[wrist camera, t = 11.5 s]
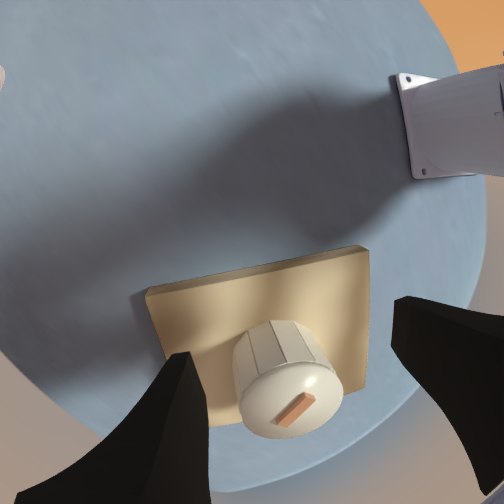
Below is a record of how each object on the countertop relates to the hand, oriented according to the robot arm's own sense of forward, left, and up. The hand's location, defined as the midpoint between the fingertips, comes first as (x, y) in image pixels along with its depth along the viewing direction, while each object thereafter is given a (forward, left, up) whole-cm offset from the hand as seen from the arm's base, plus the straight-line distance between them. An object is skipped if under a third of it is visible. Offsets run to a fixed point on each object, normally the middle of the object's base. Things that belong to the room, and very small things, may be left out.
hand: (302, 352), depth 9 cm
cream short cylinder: (0, +6, -8) cm, 10 cm away
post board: (0, +6, -9) cm, 11 cm away
